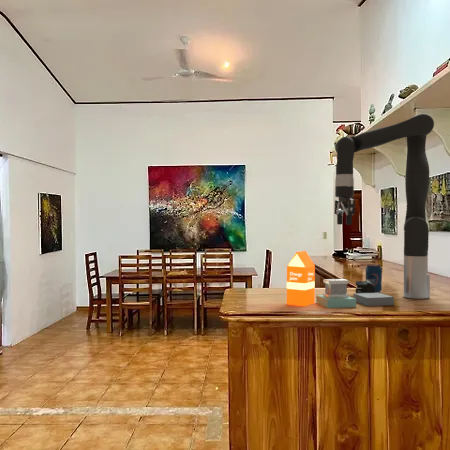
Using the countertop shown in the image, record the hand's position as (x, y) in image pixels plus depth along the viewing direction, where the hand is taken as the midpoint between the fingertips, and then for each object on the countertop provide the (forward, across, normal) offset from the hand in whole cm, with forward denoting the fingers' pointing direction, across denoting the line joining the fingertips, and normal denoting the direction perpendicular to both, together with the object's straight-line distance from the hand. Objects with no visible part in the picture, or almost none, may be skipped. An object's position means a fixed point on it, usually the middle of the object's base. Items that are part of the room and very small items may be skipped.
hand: (344, 224), depth 202 cm
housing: (+27, +18, -12) cm, 35 cm away
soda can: (+30, -10, +19) cm, 37 cm away
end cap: (+30, +3, +8) cm, 32 cm away
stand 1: (+30, +18, -12) cm, 37 cm away
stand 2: (+30, +17, +4) cm, 35 cm away
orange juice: (+30, +13, -24) cm, 41 cm away
